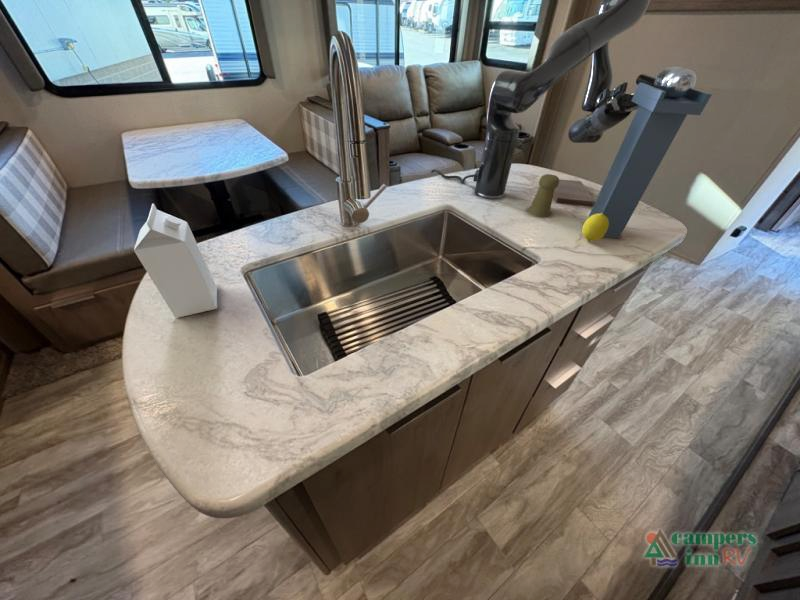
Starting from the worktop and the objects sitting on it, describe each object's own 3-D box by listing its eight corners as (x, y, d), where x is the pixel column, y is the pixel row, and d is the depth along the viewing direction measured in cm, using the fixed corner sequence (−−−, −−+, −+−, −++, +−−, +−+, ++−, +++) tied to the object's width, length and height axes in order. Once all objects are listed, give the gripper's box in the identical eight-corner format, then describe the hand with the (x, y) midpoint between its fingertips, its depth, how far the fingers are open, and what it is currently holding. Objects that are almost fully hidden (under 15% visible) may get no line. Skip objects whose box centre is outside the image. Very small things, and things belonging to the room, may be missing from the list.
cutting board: (592, 205, 101) (594, 201, 100) (556, 202, 103) (557, 197, 102) (579, 185, 114) (581, 181, 113) (547, 182, 115) (548, 178, 114)
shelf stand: (626, 243, 84) (712, 94, 62) (590, 239, 85) (662, 91, 63) (611, 222, 93) (682, 85, 71) (579, 219, 94) (639, 82, 72)
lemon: (590, 248, 82) (604, 220, 77) (572, 238, 86) (585, 210, 80) (604, 244, 84) (619, 216, 79) (586, 234, 88) (599, 206, 82)
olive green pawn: (545, 218, 94) (558, 181, 86) (525, 212, 96) (536, 176, 89) (551, 211, 97) (565, 175, 90) (532, 205, 100) (544, 170, 93)
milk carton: (175, 319, 59) (118, 227, 47) (178, 295, 64) (127, 206, 52) (217, 309, 62) (174, 219, 49) (217, 287, 66) (177, 200, 54)
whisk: (692, 101, 64) (707, 70, 61) (664, 100, 65) (678, 70, 62) (650, 85, 80) (660, 60, 77) (628, 85, 81) (638, 60, 77)
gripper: (587, 97, 94) (617, 68, 78) (639, 100, 92) (680, 72, 76) (582, 125, 95) (609, 102, 79) (632, 128, 94) (671, 106, 78)
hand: (644, 87), depth 78 cm, fingers open, 8 cm apart
